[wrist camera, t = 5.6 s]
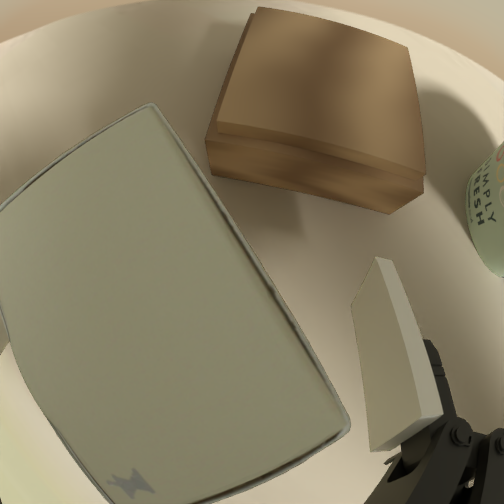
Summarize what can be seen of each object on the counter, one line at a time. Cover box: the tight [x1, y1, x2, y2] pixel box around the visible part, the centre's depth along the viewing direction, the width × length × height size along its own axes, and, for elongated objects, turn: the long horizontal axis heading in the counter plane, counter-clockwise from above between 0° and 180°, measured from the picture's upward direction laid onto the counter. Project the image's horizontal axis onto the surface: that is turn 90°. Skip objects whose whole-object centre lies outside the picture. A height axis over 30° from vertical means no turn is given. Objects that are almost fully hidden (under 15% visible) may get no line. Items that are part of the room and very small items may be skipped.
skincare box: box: [0, 103, 351, 504], centre depth 9 cm, size 6×4×12 cm
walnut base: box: [205, 7, 426, 214], centre depth 15 cm, size 11×11×5 cm
